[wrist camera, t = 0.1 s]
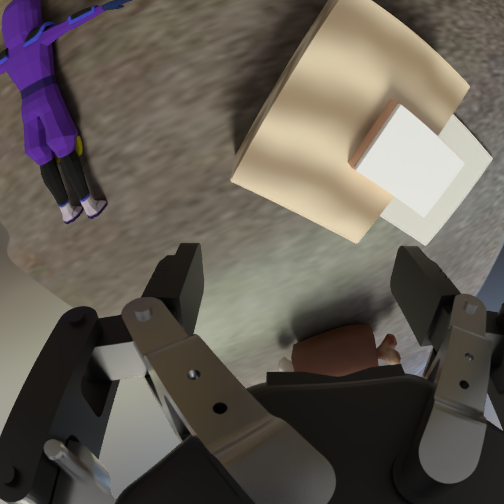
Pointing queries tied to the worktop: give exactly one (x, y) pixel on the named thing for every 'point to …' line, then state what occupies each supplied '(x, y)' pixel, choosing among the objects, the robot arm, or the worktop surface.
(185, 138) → the worktop surface
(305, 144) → the block
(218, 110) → the worktop surface
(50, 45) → the toy
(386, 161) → the tile
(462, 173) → the mat
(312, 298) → the worktop surface
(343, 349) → the meat
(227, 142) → the worktop surface
